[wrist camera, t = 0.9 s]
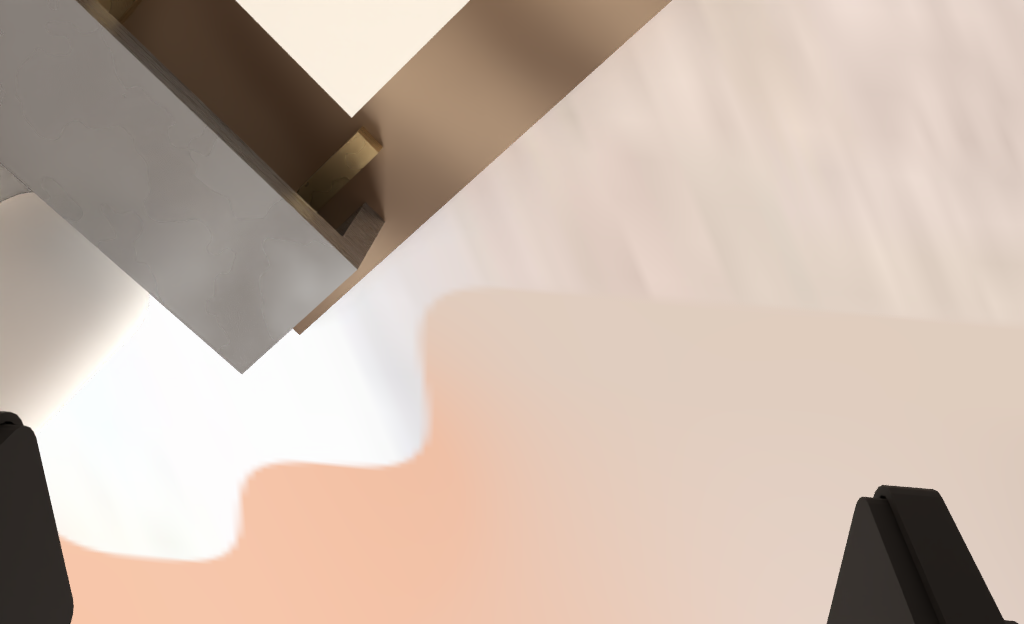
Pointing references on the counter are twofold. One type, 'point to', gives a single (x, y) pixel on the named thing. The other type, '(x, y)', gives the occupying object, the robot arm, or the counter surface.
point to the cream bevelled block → (352, 39)
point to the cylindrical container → (56, 310)
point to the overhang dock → (169, 178)
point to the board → (391, 98)
